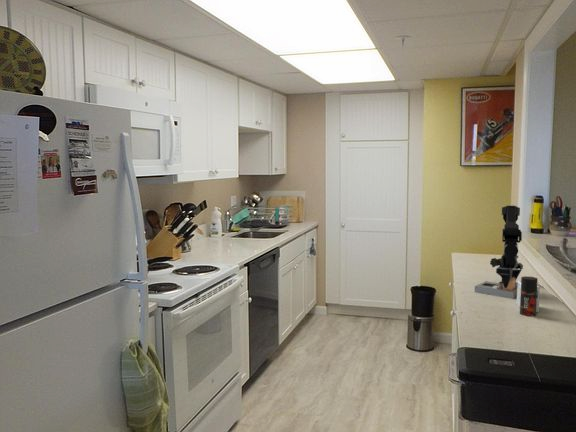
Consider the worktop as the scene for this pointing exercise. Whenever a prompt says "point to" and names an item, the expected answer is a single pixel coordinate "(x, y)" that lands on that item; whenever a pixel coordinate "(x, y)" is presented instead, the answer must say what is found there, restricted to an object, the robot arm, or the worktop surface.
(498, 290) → the socket plate
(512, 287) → the orange rectangular block
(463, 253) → the worktop surface
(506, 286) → the robot arm
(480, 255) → the worktop surface
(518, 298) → the light bulb box
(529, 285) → the deodorant
